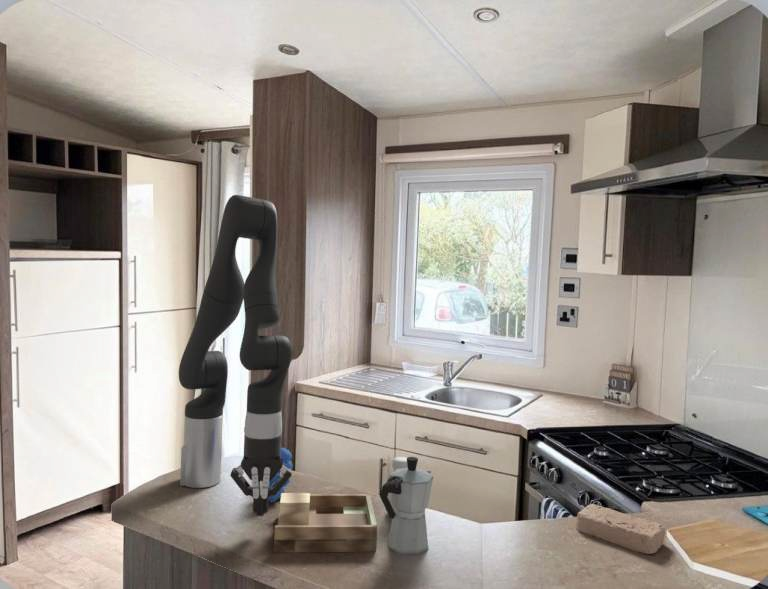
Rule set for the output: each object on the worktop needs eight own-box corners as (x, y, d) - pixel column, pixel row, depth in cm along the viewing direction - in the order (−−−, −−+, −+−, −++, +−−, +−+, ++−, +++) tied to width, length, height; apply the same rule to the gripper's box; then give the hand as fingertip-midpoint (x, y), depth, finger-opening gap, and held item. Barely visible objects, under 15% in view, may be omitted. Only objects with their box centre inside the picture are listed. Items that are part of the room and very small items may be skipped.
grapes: (272, 487, 140) (274, 440, 140) (297, 491, 139) (299, 443, 138) (249, 505, 129) (251, 454, 129) (276, 509, 127) (278, 458, 127)
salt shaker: (381, 515, 127) (384, 459, 127) (393, 506, 132) (395, 452, 132) (404, 521, 124) (407, 464, 124) (415, 512, 130) (418, 457, 129)
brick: (574, 531, 125) (575, 510, 124) (589, 519, 131) (590, 500, 131) (652, 559, 114) (654, 537, 113) (665, 545, 120) (666, 524, 120)
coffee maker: (413, 527, 122) (417, 446, 121) (444, 543, 115) (449, 457, 115) (362, 549, 111) (367, 460, 110) (394, 567, 105) (398, 473, 104)
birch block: (279, 526, 114) (280, 502, 114) (280, 516, 119) (281, 492, 119) (308, 526, 114) (309, 502, 114) (309, 515, 119) (310, 493, 119)
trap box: (273, 552, 108) (274, 527, 108) (279, 516, 124) (280, 494, 124) (376, 551, 111) (377, 526, 110) (368, 515, 127) (370, 494, 126)
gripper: (296, 427, 119) (293, 506, 120) (233, 426, 118) (230, 506, 119) (294, 437, 112) (291, 522, 113) (227, 436, 110) (224, 522, 111)
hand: (260, 514), depth 116 cm, fingers closed
